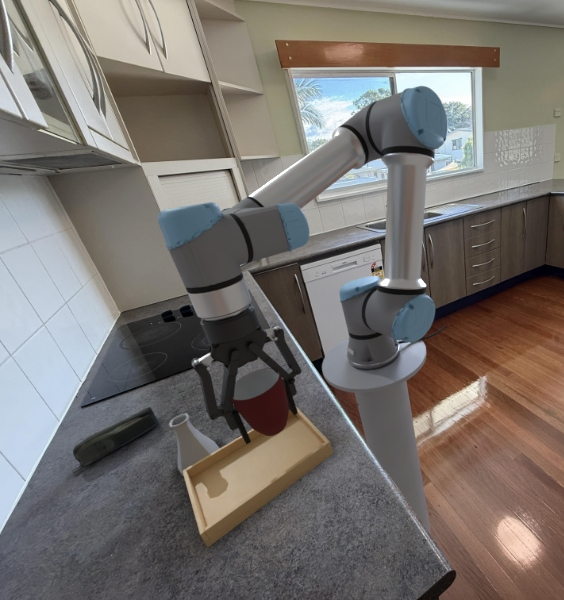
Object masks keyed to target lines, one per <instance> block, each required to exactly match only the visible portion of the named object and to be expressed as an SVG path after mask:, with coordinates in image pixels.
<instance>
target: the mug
mask: <svg viewBox="0 0 564 600" xmlns="http://www.w3.org/2000/svg"><path fill="white" fill-rule="evenodd" d="M230 398H231V400H232V402H233V405H234V406H235V408H236V410H237V411H238V413H239V415H240V417H241V418H242V419H243V420H244V421H245V422H246V423H247V425H249V427H250V428H251V429H254V430H255V431H257V432H259V433H261V434H263V435H266V436H274V435H276V434H278V433H280V432H281V431H282V430H283V429H284V428H285V426H286V424H287V420H288V414H289V406H288V400H287V394H286V389H285V385H284V382H283V378H282V377H281V375H280V373H279V371H278V374H277V373H276V372H275V371H274V370H273V369H272V368H270V367H263V368H259V369H255V370H253V371H251V372H249V373H247V374H245V375H243V376H242V377H241V378H239V379H238V380H237V381H236V382H235V391H234V399H233V398H232V397H230Z"/></svg>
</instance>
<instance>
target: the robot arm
mask: <svg viewBox="0 0 564 600" xmlns="http://www.w3.org/2000/svg"><path fill="white" fill-rule="evenodd" d="M448 132H449V121H448V115H447V112H446V109H445V106H444V104H443V102H442V100H441V98H440V96H439V95H438V94H437V93H436V92H435V91H434V90H433V89H432V88H430V87H428V86H425V85H419V86H418V85H417V86H414V87H408V88H405V89H404V90H402V91H401V92H397V93H395V94H393V95H390V96H387V97H384V98H382V99H378V100H375V101H373V102H371V103H369V104H367V105H366V106H364V107H363V108H361V109H360V110H359V111H357V112H356V113H354V114H353V116H351V117H350V118H349V119H347V120H346V121H345V122H344V123H342V124H341V125H340V126H338V127H337V128H335V129H334V130H333V132H332V135H331V138H329V140H326V141H325V142H324V143H322V144H321V145H320V146H318V147H316V148H315V149H314V150H312V151H311V152H309V153H308V154H307V155H305V156H304V157H302V158H300V160H298V161H296V162H295V163H294V164H292V165H291V166H289V167H288V168H286V169H285V170H283V171H281V173H279V174H278V175H277V176H275V177H273V178H272V179H270V180H269V181H268V182H266V183H264V184H263V185H262V186H260V187H259V188H258V189H256V190H255V191H253V192H252V193H251V194H249V195H247V196H246V197H245V198H243V199H242V200H240V201H239V202H236V204H235V205H233V206H231V207H228V208H223V209H222V210H221V208H220V206H219V205H218V204H217V203H215V202H203V203H196V204H191V205H184V206H178V207H177V206H176V207H172V208H167V209H163V210H161V211H160V212H159V213H158V215H157V222H158V225H159V228H160V230H161V233H162V236H163V239H164V241H165V247H166V249H167V251H168V252H169V255H170V257H171V259H172V262H173V263H174V266H175V267H176V270H177V272H178V274H179V277H180V279H181V281H182V283H183V286H184V287H185V290H186V292H187V295H188V298H189V300H190V302H191V304H192V307H193V308H194V309H193V310H194V311H195V314H196V316H197V318H200V322H199V323H200V326H201V328H202V330H203V332H204V335H205V337H206V340H207V342H208V344H209V349H208V353H206V354H205V355H202V356H201V357H194V358H192V360H190V364H191V366H192V367H193V370H194V371H195V372H196V373H197V375H198V378H199V383H200V386H201V387H200V388H201V391H202V395H203V396H202V397H203V402H204V405H205V410H206V413H207V415H208V417H209V419H210V420H211V421H215V420H217V419H218V418H220V417H221V418H224V419H225V421H226V424H227V425H228V427H229V429H230V430H231V431H232V432H233V431H236V430H237V429H238V432H239V433H240V436H242V437H243V439H244V441H245V443H246V444H248V443H250V442H251V440H250V438H249V436H248V433H247V432H248V431H247V429H246V427H245V424H244V422H243V418H242V416H241V415H240V413H239V412H238V411H237V410H236V408H235V406H234V404H233V402H232V400H231V398H230V397H232V398H233V399H234V391H235V383H236V382H237V381H236V380H237V376H238V373H239V372H238V371H239V369H240V368H242V367H244V366H245V365H247V364H248V363H253V362H256V361H257V360H259V359H260V360H261V361H262V362H263V363H264V364H266V365H267V366H268V368H272V369H273V370H274V371H275V372H276V373H277V374H278V371H279V373H280V375H281V377H282V379H283V382H284V385H285V389H286V394H287V400H288V406H289V410H290V411H291V412H292V413H293V414H294V415H296V414H297V413H298V411H297V408H298V407H297V406H296V403H295V399H294V396H296V395H297V394H298V391H297V388H296V384H295V382H296V379H295V378H296V376H299V375H301V374H302V368H301V367H300V364H299V363H298V361H297V359H296V358H295V356H294V354H293V352H292V350H291V349H290V347H289V345H288V343H287V341H286V338H285V330H284V329H283V328H282V327H280V326H278V325H277V324H273V325H272V326H271V327H270V328H266V329H264V328H263V327H262V325H261V323H260V320H259V317H258V314H257V311H256V308H255V306H254V304H252V303H251V302H252V298H251V294H250V291H249V288H248V286H247V283H246V281H245V278H244V273H243V271H242V268H241V265H246V264H250V263H252V262H255V261H256V262H257V261H259V260H263V259H266V258H271V257H273V256H277V255H280V254H283V253H287V252H289V253H290V252H293V251H294V250H296V249H298V248H302V247H304V246H305V245H307V244H308V241H309V238H310V227H309V223H308V219H307V217H306V215H305V213H304V211H303V210H302V209H303V208H304V207H306V206H307V205H308V204H309V203H311V202H312V201H313V200H314V199H316V198H317V197H318V196H319V195H321V194H322V193H323V192H324V191H326V190H327V189H328V188H330V187H331V186H332V185H334V184H335V183H337V181H338V180H340V179H341V178H342V177H344V176H345V175H346V174H347V173H349V172H350V171H351V170H352V169H353V170H360V169H361V168H363V167H364V166H365V165H366V164H369V163H370V162H373V161H376V160H381V161H382V163H383V164H384V165H385V166H386V168H387V186H386V213H385V214H386V215H385V217H386V218H385V241H384V242H385V244H384V268H383V269H384V270H383V271H384V273H383V277H382V278H381V277H380V276H378V275H377V276H376V275H372V276H371V275H370V276H365V277H364V276H363V277H361V278H360V277H359V278H356V279H354V280H351V281H349V282H346V283H345V284H344V285H342V286H341V287H340V289H339V302H340V303H341V309H342V311H343V315H344V316H343V317H344V320H345V325H346V328H347V333H348V338H349V343H348V346H347V357H348V362H349V364H350V365H351V366H352V367H354V368H356V369H359V370H376V369H380V368H383V367H385V366H388V365H389V364H391V363H393V362H394V361H395V360H396V359H397V358H398V356H399V354H400V348H399V344H401V343H408V342H415V341H419V340H422V341H423V340H427V339H430V338H433V337H435V336H437V335H438V334H440V333H441V332H442V331H444V330H445V329H446V328H447V326H446V325H444V326H442V327H441V328H440V329H438V330H437V331H436V332H434V333H432V334H429V335H426V334H427V333H428V331H429V330H430V329H431V327H432V325H433V322H434V319H435V315H436V305H435V303H434V300H433V299H432V298H431V297H430V296H429V295H427V284H426V283H425V281H424V280H423V279H422V277H421V276H422V258H423V242H424V241H423V239H424V225H425V208H426V207H425V205H426V189H427V188H426V187H427V176H428V175H427V174H428V172H427V171H428V169H430V167H431V166H433V164H434V163H435V157H436V156H435V155H436V150H438V149H440V148H441V147H442V146H443V145H444V144H445V142H446V140H447V137H448ZM425 335H426V336H425ZM267 338H269V339H270V340H271V341H273V342H274V344H275V346H276V348H277V349H278V351H279V353H280V354H281V356H282V358H283V359H284V361H285V364H286V365H287V366H288V369H287V370H286V369H284V368H283V367H282V366H281V365H280V364H279V363H278V362H276V361H275V360H274V359H273V358H272V357H271V356H270V355H269V354H268V353H267V352H266V351H264V347H265V344H266V340H267ZM397 340H399V341H397ZM400 340H401V341H400ZM213 361H216V362H217V363H221V364H222V365H223V366H222V370H223V373H222V385H221V394H220V401H219V402H220V403H219V404H218V403H217V398H216V394H215V389H214V384H213V379H212V376H211V374H210V372H209V371H211V369H212V368H213V366H212V365H213V364H212V363H213ZM296 407H297V408H296Z"/></svg>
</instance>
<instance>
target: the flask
mask: <svg viewBox="0 0 564 600" xmlns="http://www.w3.org/2000/svg"><path fill="white" fill-rule="evenodd" d="M168 426H169V428H170V429H171V430H173V431H174V433H175V438H176V442H177V443H176V444H177V445H176V446H177V447H176V448H177V470H178V471H179V473H180V474H181V476H183V477H184V475H183V472H182V471H183V470H185V469H186V468H188V467H190V466H191V465H193V464H195V463H196V462H198V461H200V460H201V459H203V458H205V457H206V456H208V455H210V454H211V453H213V452H215V451H217V450H218V449H220V448H221V447H219V445H218V444H217V443H216V442H215V441H214V440H212V439H211V438H209V437H208V436H206V435H204V434H203V433H202V432H200V431H199V430H198V429H197V428H195V427H194V425H193V424H192V423H191V421H190V416H189V414H188V413H187V412H185V413H182V414H178V415H177V416H175V417H173V418H171V420H170V421H169V423H168Z"/></svg>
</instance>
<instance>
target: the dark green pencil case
mask: <svg viewBox="0 0 564 600" xmlns="http://www.w3.org/2000/svg"><path fill="white" fill-rule="evenodd" d="M158 424H159V420H158V418H157V416H156V414H155V412H154V410H153V409H152V407H151V406H149V407H145V408H144V409H141V410H140V411H138V412H135V413H134V414H132V415H130V416H127V417H125V418H124V419H121V420H119V421H118V422H115V423H113V424H112V425H109V426H107V427H105V428H103V429H101V430H98V431H95V432H94V433H92V434H90V435H88V436H86V438H84V439H83V440H82V441H80V442H79V443H77V444H76V445H75V446H74V448H73V450H72V455H73V457H74V459H75V460H76V461H77V462H78V463H79V466H78V467H76V468H74V469H72V472H71V473H72V474H76V473H77V472H79V471H80V470H82V469H85V467H87V466H89V465H91V464H92V463H94V462H96V461H99V460H100V459H102V458H103V457H106V455H109V454H111V453H112V452H114V451H116V450H117V449H120V448H121V447H123V446H125V445H128V444H129V443H131V442H133V441H135V440H137V439H138V438H139V437H142V436H143V435H145V434H147V433H149V432H150V431H153V430H154V428H156V427H157V426H158Z"/></svg>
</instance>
